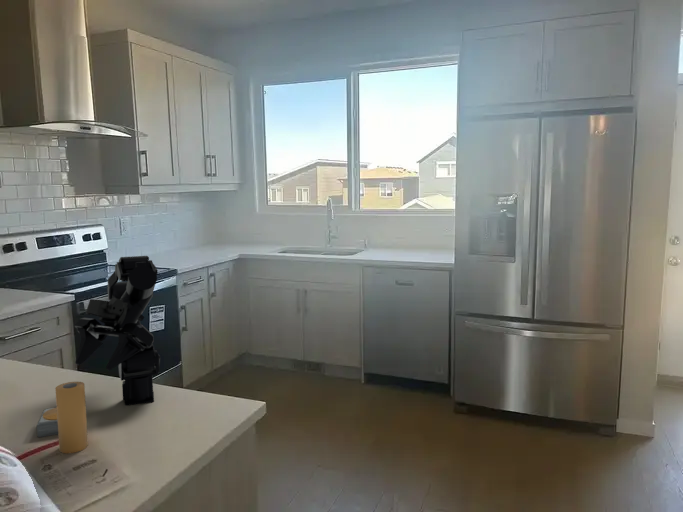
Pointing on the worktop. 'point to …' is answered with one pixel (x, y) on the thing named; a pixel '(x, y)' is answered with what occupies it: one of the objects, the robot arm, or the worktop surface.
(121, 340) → the robot arm
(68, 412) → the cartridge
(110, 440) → the worktop surface
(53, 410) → the unit
